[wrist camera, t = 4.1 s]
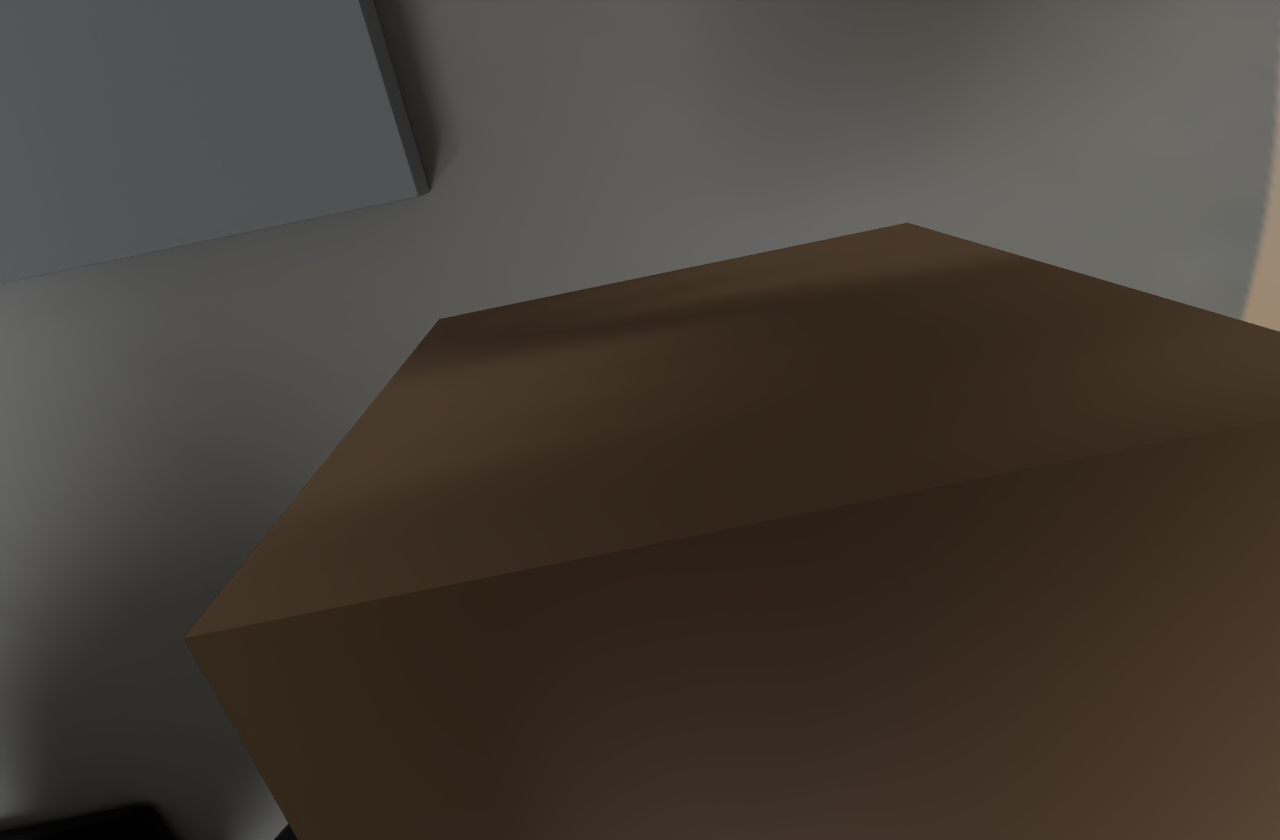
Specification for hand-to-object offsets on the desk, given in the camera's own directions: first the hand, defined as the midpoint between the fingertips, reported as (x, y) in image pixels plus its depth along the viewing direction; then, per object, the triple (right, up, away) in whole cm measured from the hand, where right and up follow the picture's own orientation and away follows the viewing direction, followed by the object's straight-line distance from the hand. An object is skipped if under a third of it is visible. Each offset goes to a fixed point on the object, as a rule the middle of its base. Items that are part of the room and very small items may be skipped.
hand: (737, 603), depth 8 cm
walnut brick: (0, 0, +1) cm, 1 cm away
